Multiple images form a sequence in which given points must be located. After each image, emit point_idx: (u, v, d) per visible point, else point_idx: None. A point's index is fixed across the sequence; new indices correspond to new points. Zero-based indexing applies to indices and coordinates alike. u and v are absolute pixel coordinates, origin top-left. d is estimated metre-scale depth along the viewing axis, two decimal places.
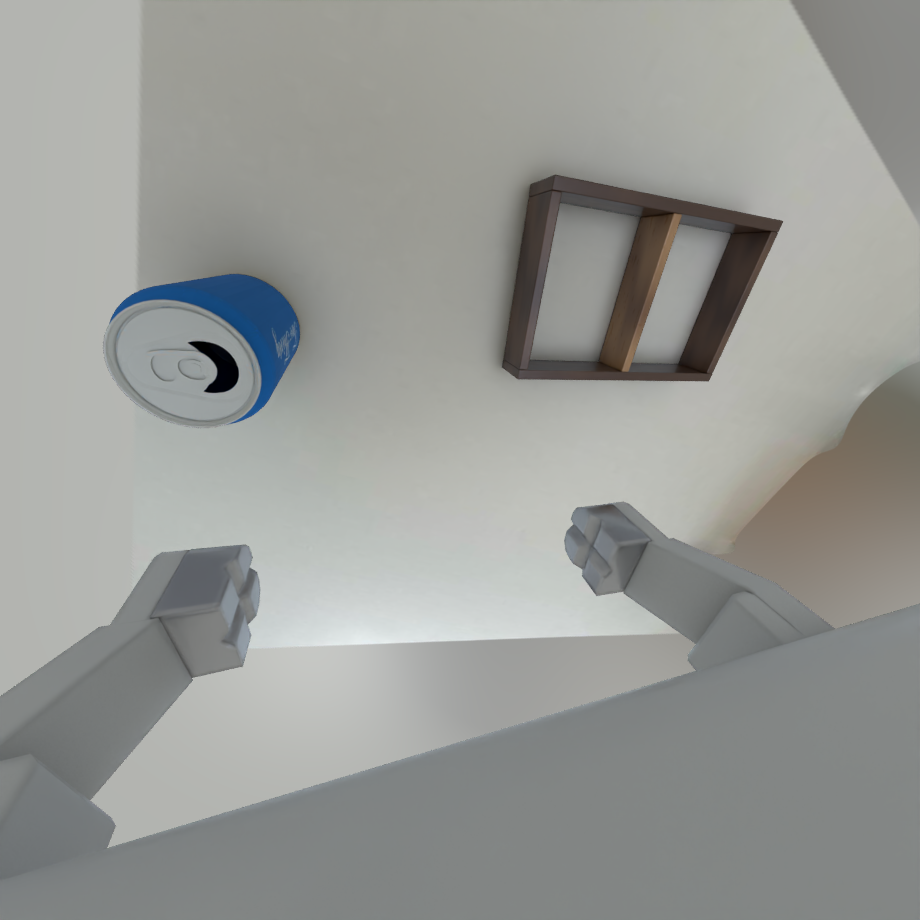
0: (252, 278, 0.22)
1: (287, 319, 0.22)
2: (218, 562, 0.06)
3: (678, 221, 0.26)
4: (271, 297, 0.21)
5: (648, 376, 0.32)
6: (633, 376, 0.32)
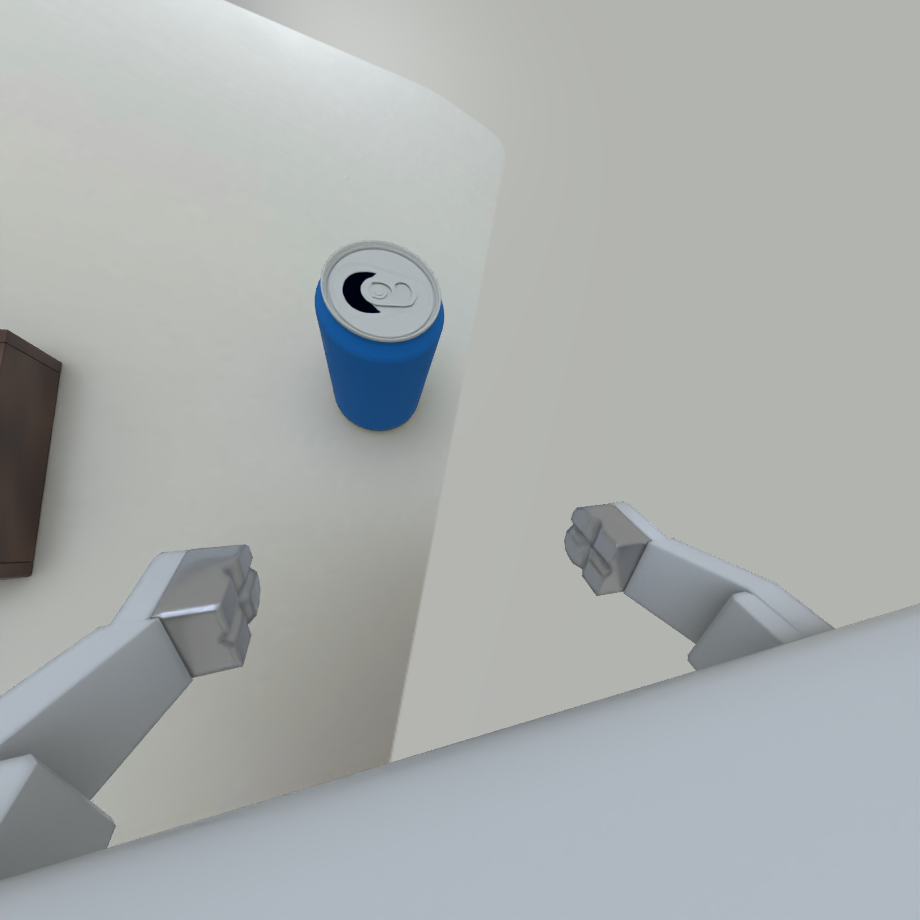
0: (369, 425, 0.25)
1: (333, 385, 0.22)
2: (218, 562, 0.06)
3: None
4: (347, 403, 0.23)
5: None
6: None
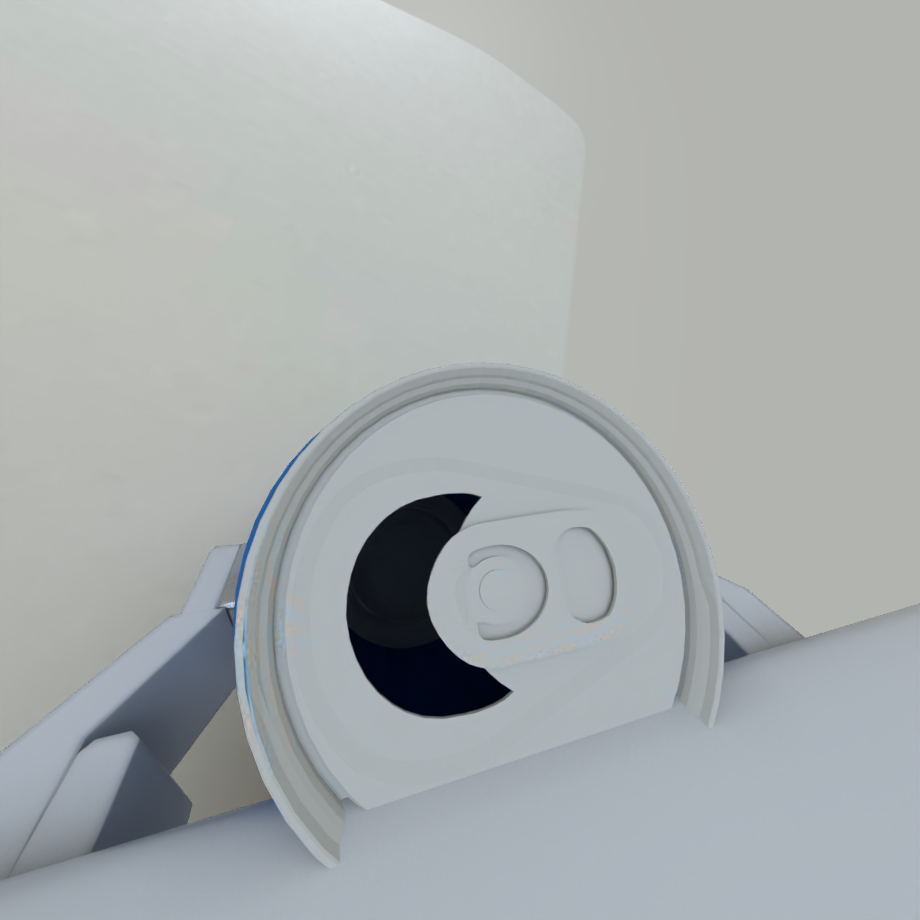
0: (393, 653, 0.12)
1: None
2: None
3: None
4: None
5: None
6: None
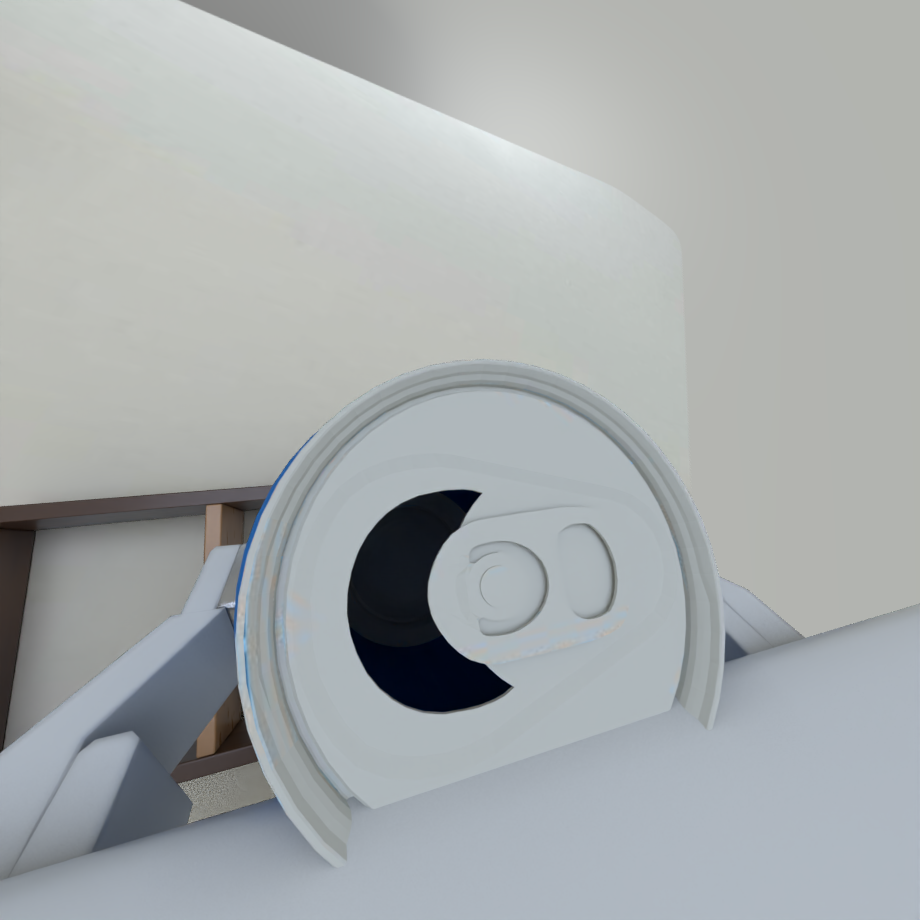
0: (394, 651, 0.13)
1: None
2: None
3: (199, 746, 0.16)
4: None
5: (151, 502, 0.18)
6: (190, 498, 0.18)
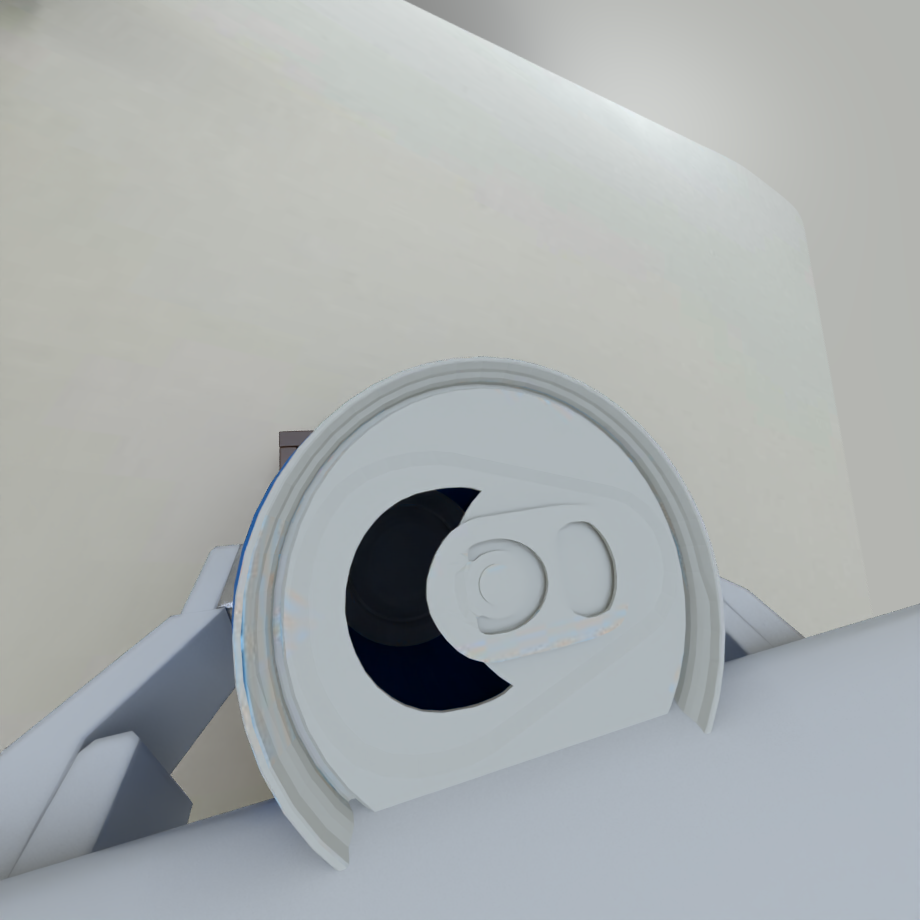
0: (393, 650, 0.12)
1: None
2: None
3: None
4: None
5: None
6: None
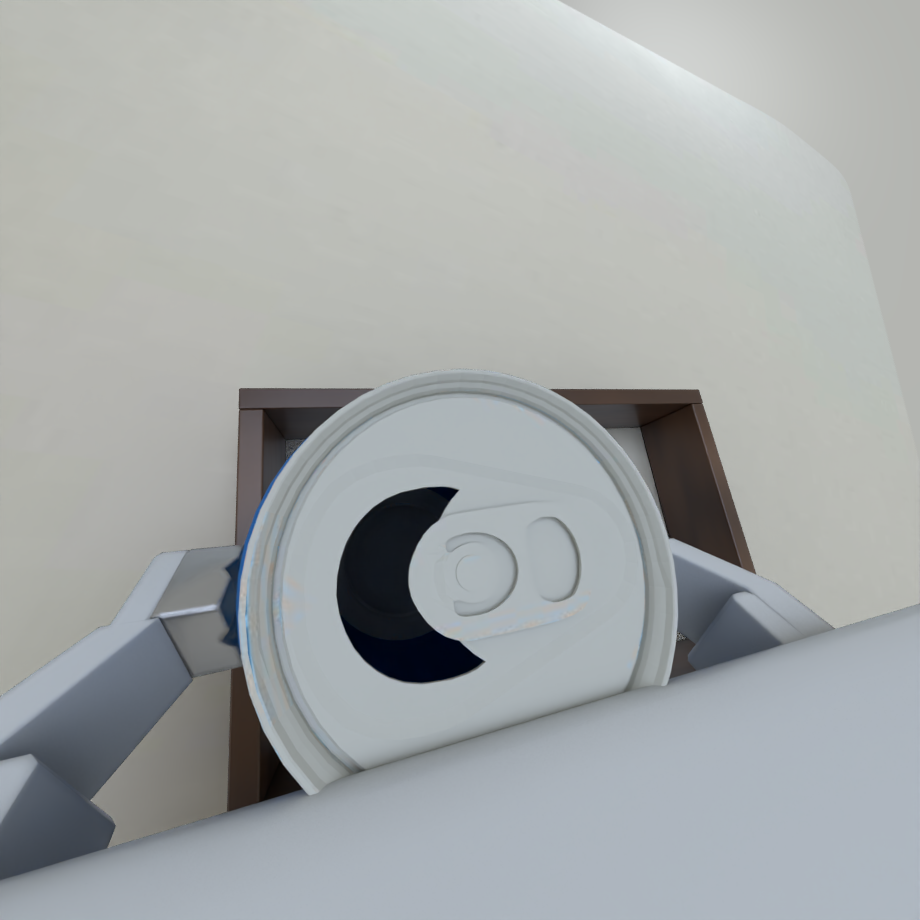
0: (389, 644, 0.13)
1: None
2: (218, 562, 0.06)
3: None
4: None
5: None
6: None
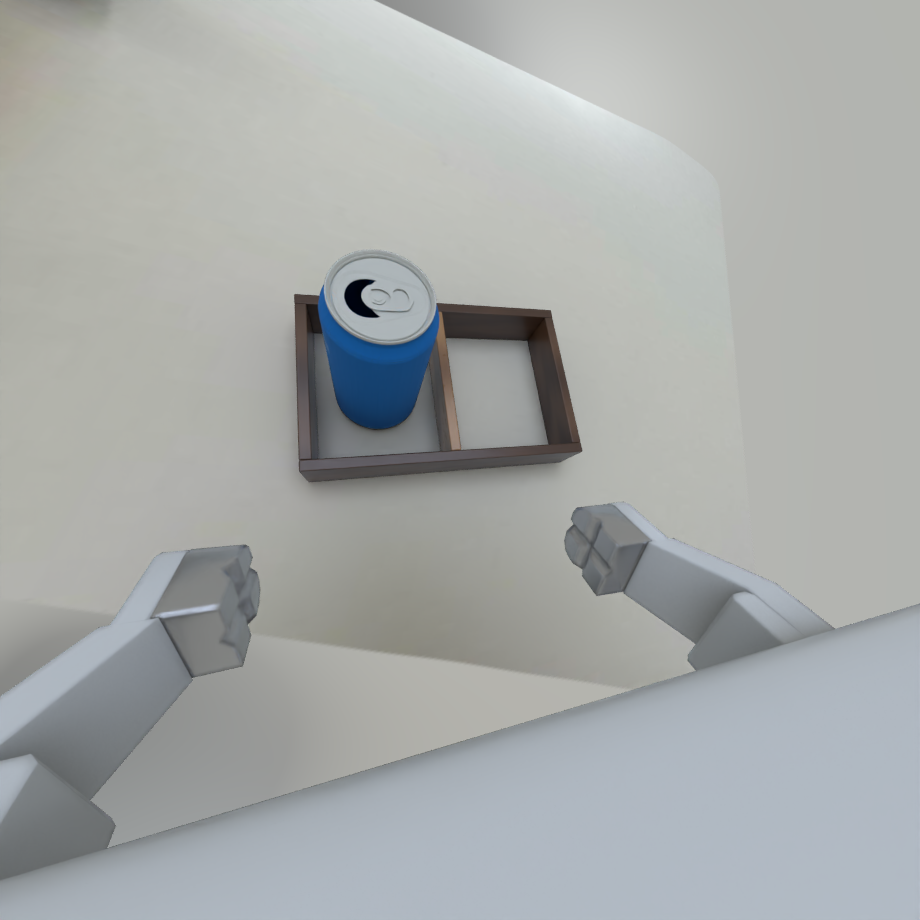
0: (368, 424, 0.26)
1: (334, 385, 0.24)
2: (218, 562, 0.06)
3: (452, 444, 0.25)
4: (347, 402, 0.24)
5: None
6: None
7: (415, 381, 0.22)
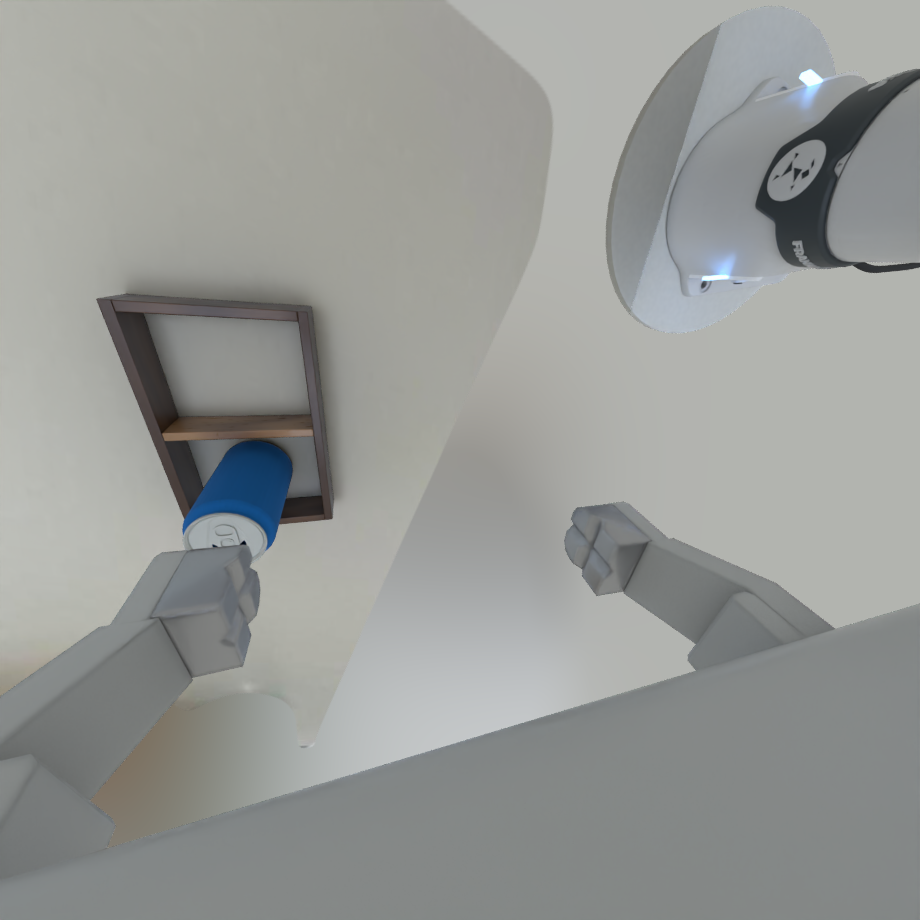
0: None
1: None
2: (218, 562, 0.06)
3: (308, 435, 0.32)
4: None
5: (168, 466, 0.30)
6: (161, 448, 0.29)
7: (269, 485, 0.30)
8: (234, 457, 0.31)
